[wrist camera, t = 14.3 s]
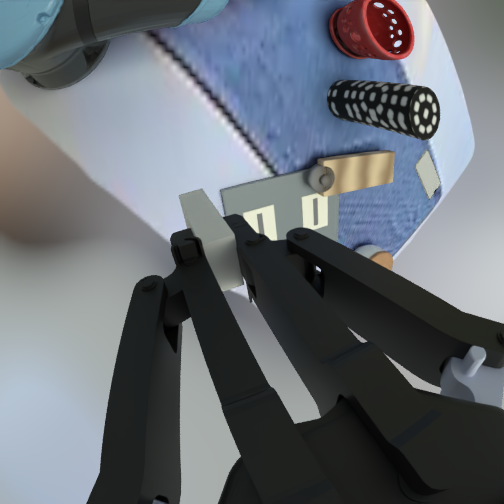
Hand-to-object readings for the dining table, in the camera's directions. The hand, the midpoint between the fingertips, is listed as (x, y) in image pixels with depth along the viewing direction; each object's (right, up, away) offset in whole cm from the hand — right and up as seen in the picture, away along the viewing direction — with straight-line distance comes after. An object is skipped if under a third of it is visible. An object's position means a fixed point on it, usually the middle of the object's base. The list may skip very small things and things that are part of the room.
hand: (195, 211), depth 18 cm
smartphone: (+53, +19, +49) cm, 75 cm away
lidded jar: (+31, -4, +53) cm, 61 cm away
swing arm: (+23, +14, +36) cm, 45 cm away
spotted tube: (+21, +27, +30) cm, 46 cm away
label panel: (+10, +4, +39) cm, 40 cm away
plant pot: (+22, +40, +23) cm, 51 cm away
